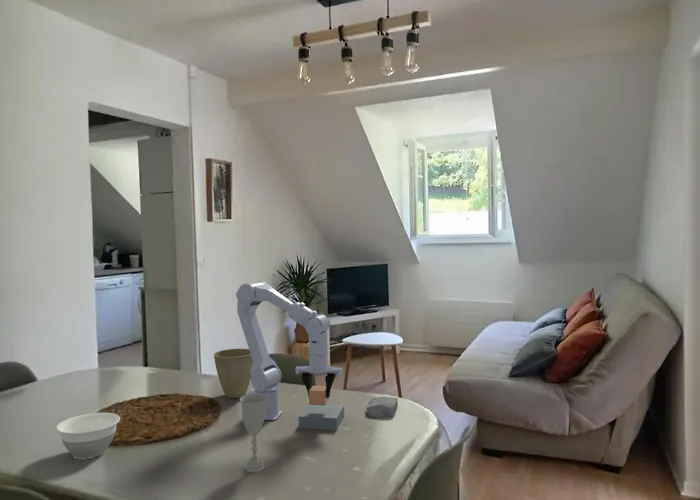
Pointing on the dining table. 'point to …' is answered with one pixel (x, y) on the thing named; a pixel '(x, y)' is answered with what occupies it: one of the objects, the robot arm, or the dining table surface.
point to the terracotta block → (318, 395)
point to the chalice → (253, 425)
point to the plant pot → (234, 371)
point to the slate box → (321, 417)
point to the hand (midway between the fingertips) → (319, 396)
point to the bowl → (88, 433)
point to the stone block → (382, 406)
